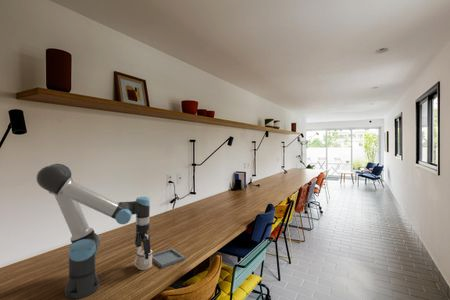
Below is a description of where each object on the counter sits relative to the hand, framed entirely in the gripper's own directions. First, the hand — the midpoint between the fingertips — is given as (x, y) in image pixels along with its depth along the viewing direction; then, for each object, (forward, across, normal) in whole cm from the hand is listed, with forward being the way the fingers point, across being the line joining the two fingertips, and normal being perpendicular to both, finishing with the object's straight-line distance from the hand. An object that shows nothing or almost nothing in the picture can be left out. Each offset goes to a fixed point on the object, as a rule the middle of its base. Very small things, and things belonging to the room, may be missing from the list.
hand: (142, 260), depth 148 cm
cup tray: (+4, 0, -16) cm, 17 cm away
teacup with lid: (+4, 0, 0) cm, 4 cm away
